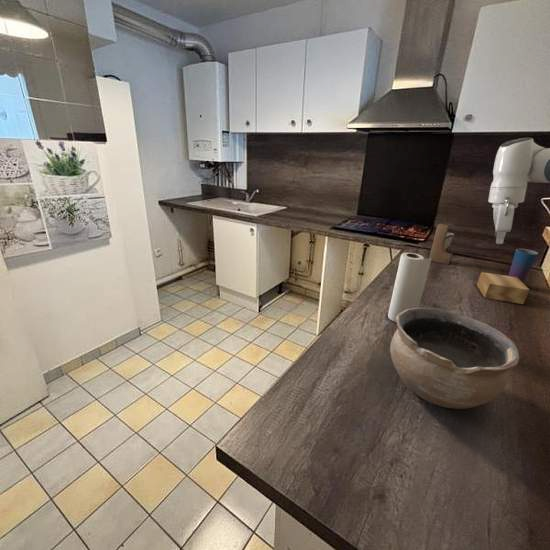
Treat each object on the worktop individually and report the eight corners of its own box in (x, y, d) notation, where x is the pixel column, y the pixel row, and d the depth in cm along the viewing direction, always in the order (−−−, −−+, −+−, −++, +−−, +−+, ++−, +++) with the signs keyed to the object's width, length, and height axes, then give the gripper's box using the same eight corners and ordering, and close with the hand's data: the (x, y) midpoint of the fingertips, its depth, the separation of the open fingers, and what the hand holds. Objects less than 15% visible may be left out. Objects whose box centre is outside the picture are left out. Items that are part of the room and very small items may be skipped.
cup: (522, 285, 120) (536, 250, 114) (525, 291, 115) (540, 255, 109) (502, 281, 123) (515, 247, 117) (504, 286, 118) (517, 251, 112)
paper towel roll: (383, 317, 92) (397, 254, 84) (393, 311, 96) (407, 250, 88) (405, 327, 87) (422, 261, 79) (415, 321, 91) (431, 257, 83)
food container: (437, 248, 164) (442, 230, 160) (449, 251, 159) (454, 233, 155) (427, 252, 156) (432, 234, 152) (439, 255, 152) (444, 236, 148)
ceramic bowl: (371, 395, 63) (383, 337, 57) (395, 345, 79) (406, 296, 73) (495, 451, 52) (527, 387, 46) (492, 379, 68) (515, 325, 62)
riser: (511, 291, 114) (517, 277, 112) (523, 304, 104) (529, 289, 102) (476, 285, 118) (481, 272, 116) (484, 298, 108) (489, 283, 105)
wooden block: (449, 262, 142) (460, 226, 135) (448, 265, 139) (459, 228, 132) (430, 258, 147) (439, 223, 140) (428, 260, 144) (437, 225, 137)
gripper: (523, 200, 80) (513, 248, 85) (516, 192, 96) (508, 233, 100) (494, 200, 83) (487, 247, 88) (492, 193, 99) (486, 232, 104)
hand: (498, 239), depth 94 cm, fingers open, 8 cm apart
